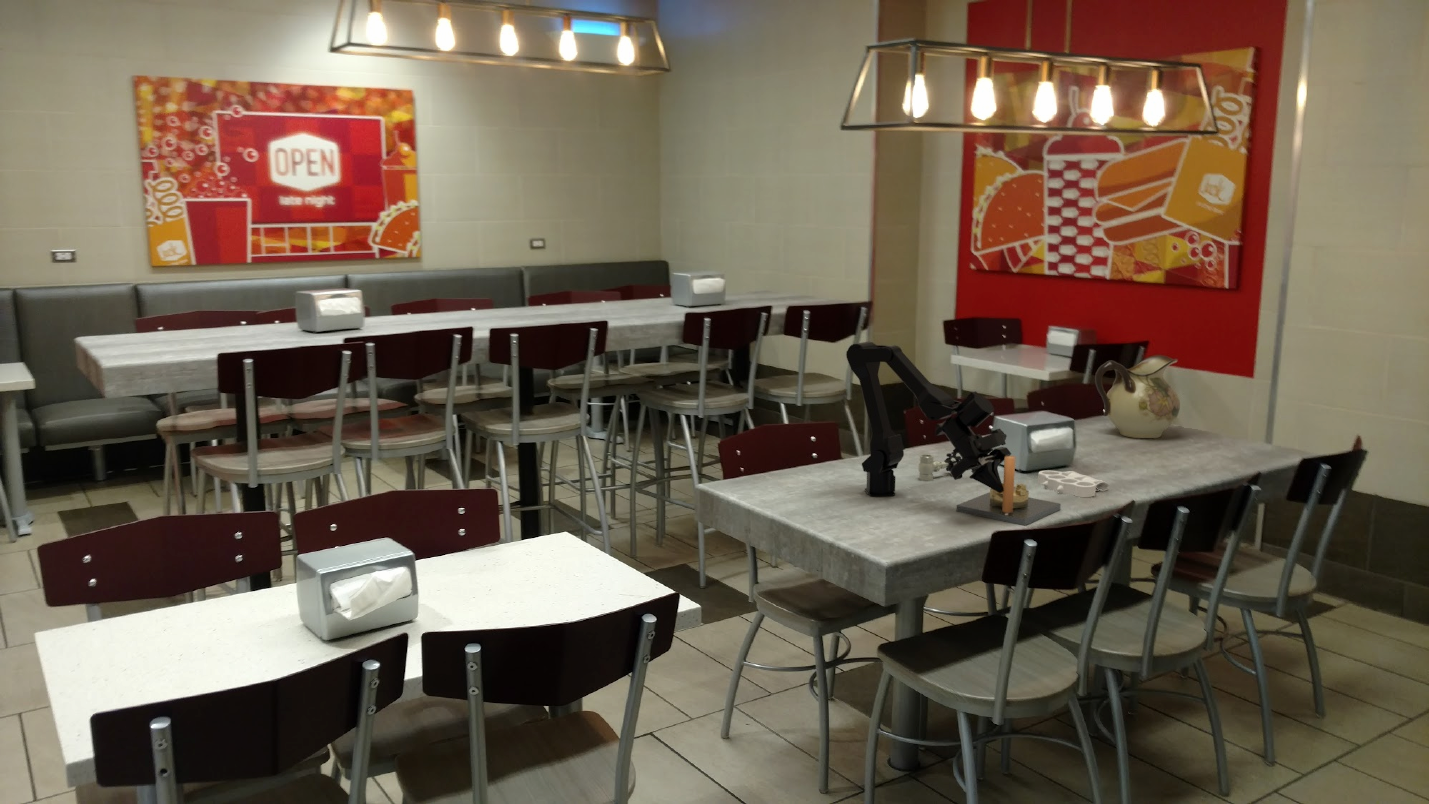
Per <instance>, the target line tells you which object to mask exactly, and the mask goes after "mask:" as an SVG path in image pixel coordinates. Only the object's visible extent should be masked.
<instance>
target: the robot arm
mask: <svg viewBox="0 0 1429 804" xmlns="http://www.w3.org/2000/svg"><path fill="white" fill-rule="evenodd" d="M845 356H846V360H847V363H848V366H849V367H850V370H851V371H852V373H853V374H854V375H855V376H856V377H857V378H858V380H859V385H860V389H861V392H862V396H863V401H864V406H865V409H866V413H867V417H868V422H869V425H870V430H871V438H870V442H869V453H870V455H869V456H868V457H866V459H865V460H864V461H863V462H861V467H862V470H863V472H865V473H866V487H865V488H864V491H865V492H866V493H867V495H868V496H870V497H889V496H890V497H891V496H892V497H893V496H896V493H895V491H896V475H894V472H895V471H894V469H897V468H898V466H899V463H900V462H901V461H902V459H903V458H904V455H905V453H904V450H906V447H905V446H904V444H903V437H902V435H901V433H898V434H896V433H895V432H894V431H893V429H892V428H891V424H890V423H891V422H890V419H889V415H888V411H887V407H886V404H885V399H884V395H883V390H882V386H881V383H880V378H879V370H880V366H881V363H885V364H887V366H888V367H889V368H890V369H891V370H892V371H893V372H894V373H895V374H896V375H897V377H898V378H899V379H900V380H901V381H902V383H904V384H905V385H906V388H908V389H909V390H910V392H911V393H913V394H914V396H915V398H916V399H917V404H918V407H919V408H920V410H921V412H922V414H924V416H925V417H926V418H927V419H928V420H929V421H934V422H935V421H939V420H943V419H945V420H944V421H943V422H942V423H936V424H935V431H934V435H935V437H936V436H940V435H945V436H946V438H947V439H948V441H950V444H951V445H952V446H953V447H954V449H953V450H952V452H954V453H955V454H956V455H957V454H958V455H959V456H960V457H961V460H959V461H958V462H957V463H956V464H955V465H954V466H953V467H952V468H951V472H950V475H951V477H952V478H953V479H954V481H957V480H960V479H962V478H963V474H964V473H965V472H966V471H971V475H970V476H969V479H973V480H974V481H977V482H979V483H981V484H983V485H984V486H986V487H988V488H990V489H991V488H992V489H993V490H995V491H997V492H999V493H1002V492H1003V491H1004V489H1003V486H1002V483H1003V482H1002V480H1001V477H1000V474H999V466H1000V465H1001V464H1002V463H1004V461H1005V457H1006V456H1011V455H1012V453H1011V451H1010V450H1009V448H1008V447H1004V445H1007V443H1006V441H1007V437H1008V435H1007V434H1006V433H1004V431H1003V430H1002V429H1001V428H996V429H994V430H991V431H990V434H988V435H985V436H982V434H981V433H980V434H979V433H977V434H975V433H974V431H973V429H971V428H978V426H979V425H981V424H982V423H983V422H984V421H985V420H986V419H988V417H990V416H991V415H992V414H993V412H995V411H994V410H995V409H994V406H993V404H992V402H991V401H990V400H989V399H987V398H986V397H984V395H981V394H979V393H978V392H977V391H972V392H970V393H969V394H968V395H967V397H966V398H965V399H964V400H963V401H962V402H961V401H957V400H955V399H954V398H953V397H952V396H951V395H950V394H948V393H947V392H946V391H945V390H943V388H940V387H937V386H935V385H934V384H932V383H931V382H930V381H929V380H928V379H927V378H926V377H925V375H923V373H922V372H921V371H920V370H919V369H918V368H917V366H916V365H915V364H914V363H913V362H912V360H911V359H909V358H908V357H907V356H906V355H905V353H904V352H903V350H902V349H901V347H900V346H899V345H896V344H894V345H886V344H884V345H883V344H881V345H879V344H875V343H874V342H872V341H864V342H858V343H853V344H851V345H849V347H848V348H847V350H846V353H845ZM952 415H955V416H953V417H951V416H952Z"/></svg>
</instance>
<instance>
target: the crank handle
mask: <svg viewBox="0 0 1429 804" xmlns="http://www.w3.org/2000/svg"><path fill="white" fill-rule="evenodd" d="M1003 463H1004V465H1003V467H1004V468H1003V482H1001V483H1002V486H1003V489H1004V491H1003V492H1002V493H999V492H997V491H995V490H993V489H992V488H990V489H989V490H990V491H989V492H990V503H991V504H992V505H994V506H998V507H1002V511H1003V512H1006V513H1011V512H1013V508H1023V507H1026V506H1028V497H1029V493H1030V492H1029V490H1028V489H1027V484H1024V483H1018V484H1017V483H1016V486H1015V469H1016V457H1015V456H1011V455H1010V456H1006V457H1005V460H1004V461H1003Z"/></svg>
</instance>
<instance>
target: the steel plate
mask: <svg viewBox="0 0 1429 804" xmlns="http://www.w3.org/2000/svg"><path fill="white" fill-rule="evenodd" d="M1060 510H1061V503H1060V502H1054V501H1049V500H1043V499H1039V498H1033V497H1029V496H1028V506H1026V507H1023V508H1013V512H1011V513H1006V512H1003V511H1002V507H998V506H994V505H992V504H991V503H990V491H989V492H986V493H984V494H981V495H979V496H976V497H974V498H971V499H968V500H966V501H963V502H961V503H958V504H956V512H959V513H963V514H969V515H973V516H978V517H983V518H988V519H991V520H992V519H993V520H997V521H1002V522H1007V523H1010V524H1011V523H1012V524H1016V525H1020V526H1025V527H1026V526H1027V525H1030V524H1031V523H1034V522H1036V521H1038V520H1040V519H1043V518H1045V517H1047V516H1049V515H1052V514H1054V513H1056V512H1058V511H1060ZM1055 511H1056V512H1055Z"/></svg>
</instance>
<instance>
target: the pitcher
mask: <svg viewBox="0 0 1429 804" xmlns="http://www.w3.org/2000/svg"><path fill="white" fill-rule="evenodd" d="M1177 362H1178V358H1174V359H1173V358H1171V357H1169V356H1167V355H1162V354H1160V355H1159V354H1154V355H1152V356H1148V357H1146V358H1144V359H1143V360H1142V361H1141V360H1140V361H1138V363H1136V364H1135V365H1133V366H1132V367H1129V368H1126V367H1125V366H1124V365H1122V364H1121V363H1119V362H1117V361H1115V360H1108V361H1106V362H1104V363H1103V364H1101V365H1100V366H1099V367H1098V369H1096V372H1095V376H1094V383H1095V387H1096V389H1097V391H1098V393H1099V395H1100V396H1101V399H1102V402H1103V404H1104V405H1103V406H1104V411H1103V416H1104V417H1107V418H1108V420H1109V421H1110V422H1111V423H1112V425H1114V427H1116V428H1117V429H1118V431H1119V434H1120V435H1121V436H1124V437H1128V438H1132V439H1140V438H1154V439H1158V438H1160V437H1162V434H1163V433H1164V432H1165V430H1167V429H1168V428H1170V426H1172V425H1173V423H1174V422H1175V421H1176V419H1177V418H1178V416H1179V413H1180V408H1181V402H1180V398H1179V395H1178V394H1177V392H1176V391H1175V389H1174V388H1173V387H1172V386H1171V385H1170V384H1169V383H1168V382H1167V381H1166V379H1165V377H1164V373H1165V371H1166V369H1167V368H1168V367H1169V366H1170V365H1173V364H1176V363H1177ZM1113 370H1114V372H1115V379H1114V381H1113V382H1112V387H1111V388H1110V389H1109V390H1108V391H1107V393H1106V391H1105V389H1104V386H1103V376H1104V374H1106V373H1107V371H1113Z"/></svg>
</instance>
